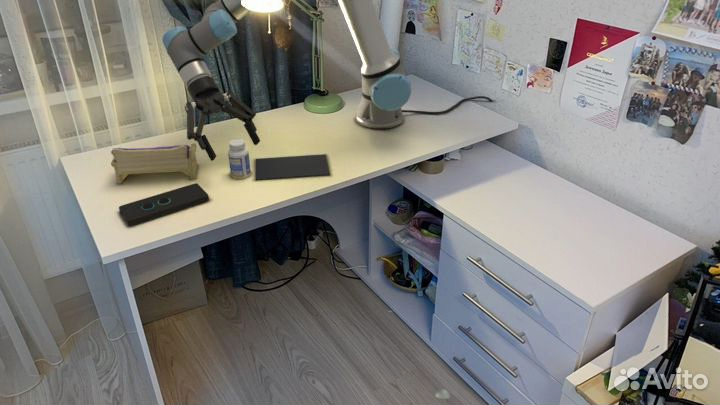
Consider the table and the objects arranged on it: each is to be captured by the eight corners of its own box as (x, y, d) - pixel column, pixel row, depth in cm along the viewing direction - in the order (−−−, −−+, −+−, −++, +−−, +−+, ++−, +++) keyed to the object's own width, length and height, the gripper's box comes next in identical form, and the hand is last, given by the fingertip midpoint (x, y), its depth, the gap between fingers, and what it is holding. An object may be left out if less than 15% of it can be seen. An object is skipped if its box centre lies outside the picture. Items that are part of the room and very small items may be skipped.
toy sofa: (199, 164, 158) (194, 131, 153) (197, 179, 151) (191, 145, 146) (122, 169, 156) (113, 136, 150) (115, 185, 148) (106, 150, 143)
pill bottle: (244, 167, 157) (240, 135, 152) (254, 174, 153) (251, 142, 148) (227, 173, 154) (222, 141, 149) (237, 181, 150) (232, 148, 145)
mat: (325, 155, 163) (325, 154, 163) (330, 175, 153) (330, 174, 153) (255, 159, 161) (255, 158, 161) (255, 180, 151) (255, 179, 151)
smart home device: (117, 205, 136) (196, 181, 147) (119, 211, 137) (197, 187, 147) (128, 221, 131) (209, 195, 141) (129, 227, 132) (210, 201, 142)
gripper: (234, 78, 162) (269, 142, 161) (153, 100, 147) (190, 171, 146) (243, 65, 156) (279, 131, 155) (158, 86, 141) (198, 159, 140)
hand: (236, 150), depth 150 cm, fingers open, 13 cm apart
